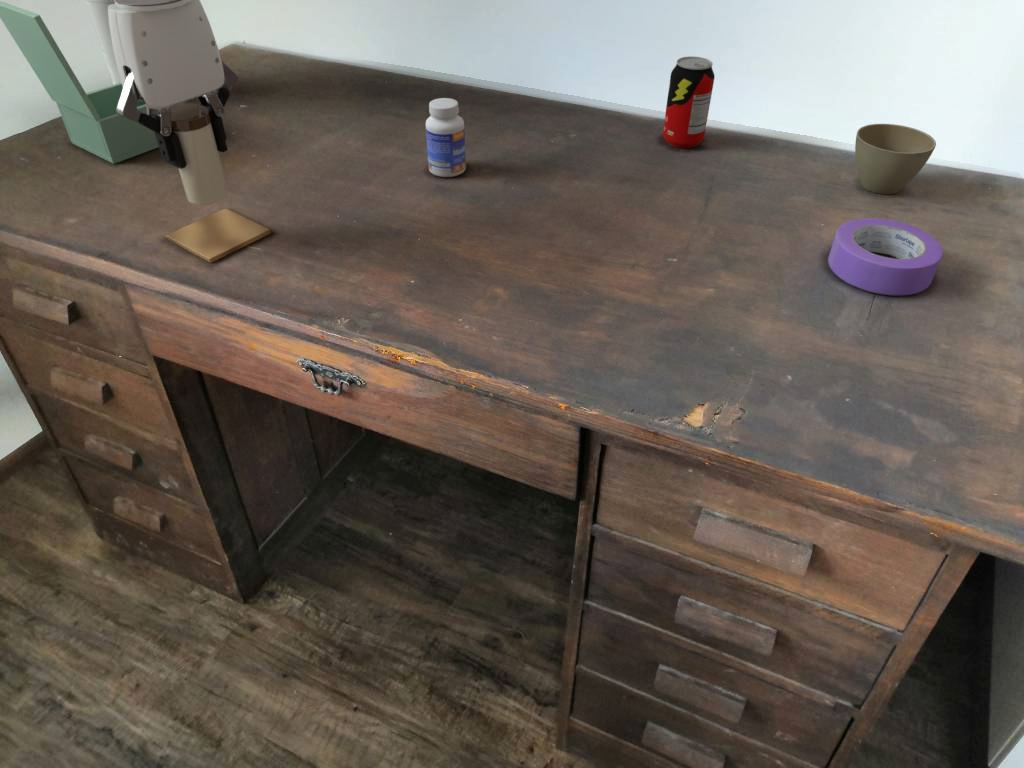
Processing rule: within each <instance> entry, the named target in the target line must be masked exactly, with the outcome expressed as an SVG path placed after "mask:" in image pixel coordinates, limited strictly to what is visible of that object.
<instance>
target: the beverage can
mask: <svg viewBox="0 0 1024 768" xmlns="http://www.w3.org/2000/svg"><path fill="white" fill-rule="evenodd" d="M714 84H715V73H714V70H713V62H712V61H711V60H710V59H708V58H705V57H701V56H683V57H679V58H678V59H677V60H676V65H675V66H674V67H673V69H672V70H671V72H670V77H669V85H668V92H667V99H666V106H665V114H664V122H663V127H662V128H663V129H662V138H663V139H664V140H665V141H666V142H667V144H669V145H670V146H672V147H674V148H679V149H691V148H695V147H696V146H697V145H699V144H701V143H702V141H704V139H705V134H706V130H707V129H706V128H707V123H708V116H709V113H710V106H711V100H712V96H713V95H712V94H713V88H714Z"/></svg>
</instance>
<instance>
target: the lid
mask: <svg viewBox="0 0 1024 768" xmlns="http://www.w3.org/2000/svg"><path fill="white" fill-rule="evenodd" d="M0 20H1V21H2V23H3V25H4V26H5V28H6V29H7V31H8V32H9V35H10V36H11V37H12V39H13V40H14V42H15V44H16V45H17V47H18V48H19V50H20V51H21V53H22V55H23V57H24V58H25V60H26V61H27V63H28V64H29V65H30V67H31V69H32V71H33V72H34V73H35V75H36V77H37V78H38V81H40V83H41V85H42V87H43V88H44V89H45V91H46V92H47V94H48V96H49V97H50V99H51V100H52V101H53V102H55V103H56V102H57V103H59V104H62V105H64V106H66V107H68V108H70V109H73V110H75V111H77V112H79V113H81V114H84V115H86V116H88V117H90V118H92V119H95V120H96V119H98V118H99V117H100V116H99V115H98V113H97V111H96V110H95V108H94V106H93V104H92V103H91V101H90V99H89V98H88V96H87V94H86V93H87V92H86V91H85V89H84V87H83V86H82V84H81V82H80V81H79V79H78V77H77V75H76V74H75V72H74V71H73V69H72V67H71V65H70V63H69V62H68V60H67V59H66V57H65V56H64V54H63V52H62V50H61V49H60V47H59V45H58V43H57V42H56V40H55V39H54V37H53V35H52V33H51V31H50V30H49V29H48V27H47V25H46V24H45V22H44V19H42V17H41V15H40V14H38V13H35V12H32V11H30V10H27V9H24V8H21V7H19V6H15V5H13V4H10V3H7V2H6V1H2V0H0ZM57 103H56V104H57Z"/></svg>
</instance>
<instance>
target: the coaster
mask: <svg viewBox="0 0 1024 768" xmlns="http://www.w3.org/2000/svg"><path fill="white" fill-rule="evenodd" d="M270 234H271V230H270V228H268V227H266V226H264V225H261V224H259V223H257V222H256V221H253V220H251V219H249V218H247V217H245V216H243V215H240V214H238V213H237V212H235V211H233V210H230V209H229V208H223V209H221V210H218V211H217V212H214V213H212V214H210V215H208V216H205V217H203V218H201V219H198V220H196V221H194V222H191V223H189V224H188V225H185V226H183V227H180V228H179V229H176V230H174V231H172V232H170V233H167V234H165V238H166V240H167V241H169V242H171V243H173V244H174V245H177V246H179V247H180V248H182V249H184V250H186V251H188V252H189V253H191V254H193V255H195V256H197V257H198V258H200V259H202V260H204V261H206V262H208V263H210V264H212V263H214V262H216V261H218V260H220V259H222V258H224V257H226V256H228V255H230V254H232V253H234V252H237V251H238V250H240V249H242V248H244V247H246V246H248V245H250V244H252V243H254V242H256V241H258V240H260V239H262V238H264V237H266V236H268V235H270Z"/></svg>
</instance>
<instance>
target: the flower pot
mask: <svg viewBox="0 0 1024 768" xmlns="http://www.w3.org/2000/svg"><path fill="white" fill-rule="evenodd" d="M854 144H855V145H854V157H855V158H854V159H855V166H856V171H857V176H858V179H859V182H860V185H861V186H862V187H863V188H864V189H865V190H867V191H869V192H871V193H874V194H878V195H879V194H880V195H894V194H897V193H898V192H899V191H901V190H902V189H903V188H904V187H906V186H907V185H908V184H909V183H910V182H911V181H912V180H913V179H914V178H915V177H916V176H917V175H918V174H919V173H920V171H921V170H922V169H923V168H924V166H925V165H926V164H927V162H928V160H929V159H930V158H931V156H932V154H933V153H934V151H935V149H936V147H937V142H936V140H935V138H934V137H932V136H931V135H930V134H928V133H927V132H925V131H922V130H920V129H917V128H914V127H910V126H906V125H901V124H895V123H894V124H893V123H872V124H871V123H870V124H866V125H864V126H861V127H859V129H858V130H857V131H856V136H855V143H854Z"/></svg>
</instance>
